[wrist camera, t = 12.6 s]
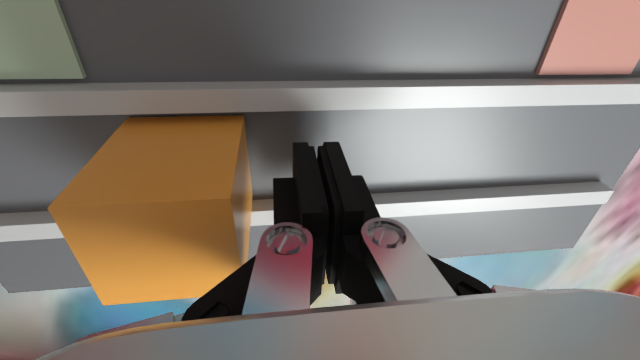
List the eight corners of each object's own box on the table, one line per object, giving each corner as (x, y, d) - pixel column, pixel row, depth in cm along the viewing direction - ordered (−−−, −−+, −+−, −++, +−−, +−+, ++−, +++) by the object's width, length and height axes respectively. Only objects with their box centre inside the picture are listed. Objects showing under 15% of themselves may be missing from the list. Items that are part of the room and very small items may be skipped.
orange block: (252, 194, 14) (245, 292, 10) (154, 199, 13) (102, 305, 9) (244, 114, 12) (230, 198, 8) (127, 117, 11) (47, 208, 7)
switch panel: (549, 224, 21) (584, 257, 18) (33, 260, 17) (-3, 307, 15) (701, -40, 13) (795, -40, 10) (-198, -78, 9) (-354, -90, 7)
